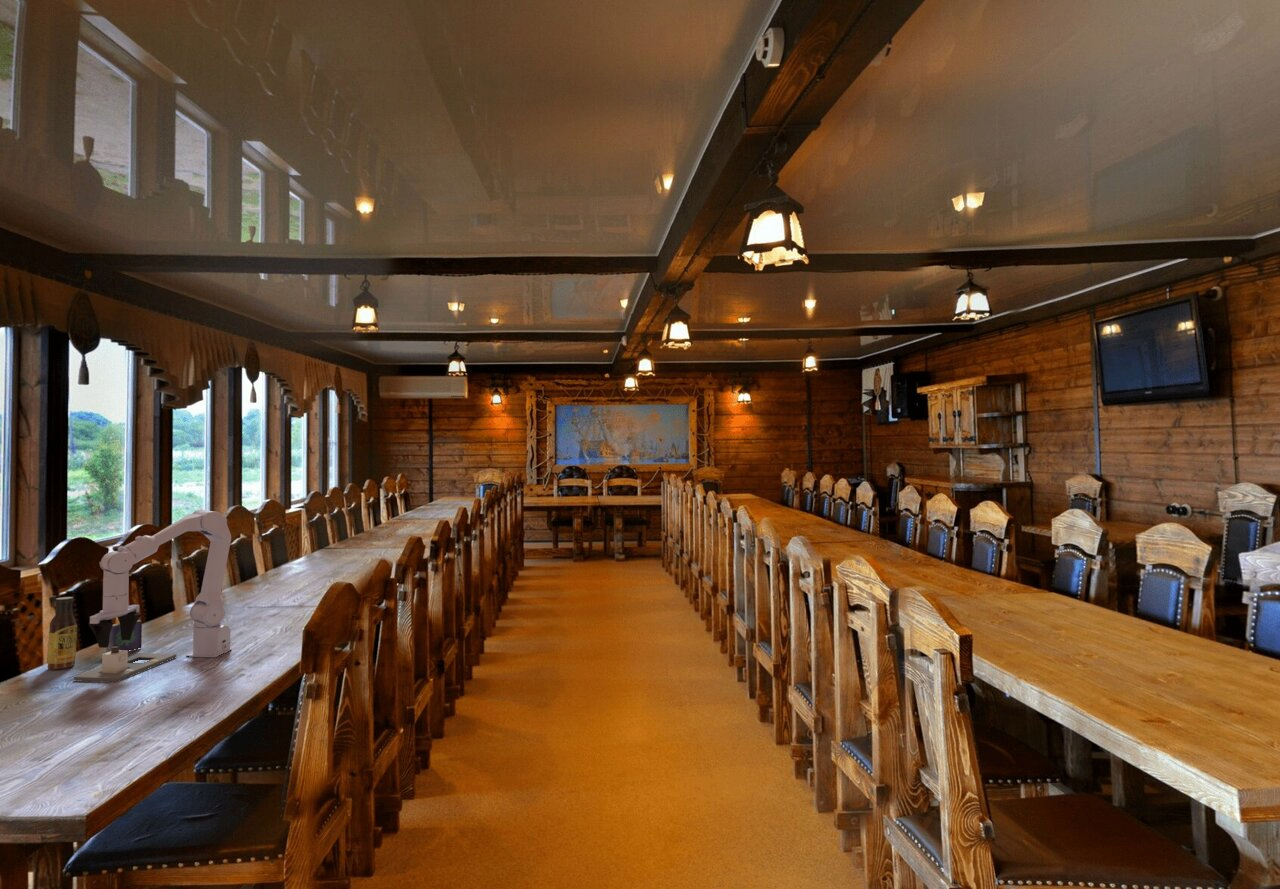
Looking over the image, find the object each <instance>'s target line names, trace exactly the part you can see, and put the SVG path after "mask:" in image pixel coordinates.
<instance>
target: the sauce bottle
mask: <svg viewBox="0 0 1280 889" xmlns="http://www.w3.org/2000/svg"><path fill="white" fill-rule="evenodd" d="M74 601H75V600H74V597H73V596H63V597H58V598H55V601H54V603H55V614H54V616H53V618H52V619H51V621H50V623H49V631H48V644H47V645H48V646H47V669H48V670H50V671H55V670H65V669H69V668H72V667H74V666H75V664H76V663H75V662H76V656H77V638H78V637H77V634H78V624H77V622H76V619H75V616H74V610H73V607H74V606H73V605H74ZM73 665H74V666H73Z"/></svg>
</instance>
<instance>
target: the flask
mask: <svg viewBox="0 0 1280 889" xmlns="http://www.w3.org/2000/svg"><path fill="white" fill-rule="evenodd" d="M142 631H143V621H142V620H140V619H138V621H137V623H136V625H135V627H134V629H133V632H132V636H131V639H130V640H122V639H121V627H120V623H119V622H118V623H114V624H113V626H112V628H111V631H110V636H109V645H108V647H107V648H105V651H106V652H105V653H107V652H110V651H111V647H116V646H119V650H128V652H129V650H134V649H138V648H141V649H142V640H143V639H142V637H143V636H142V635H143V632H142ZM134 651H135V650H134Z"/></svg>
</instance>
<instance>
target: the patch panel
mask: <svg viewBox="0 0 1280 889" xmlns="http://www.w3.org/2000/svg"><path fill="white" fill-rule="evenodd" d="M175 657H176V658H177V654H176V653H146V652H145V653H143V652H138V653H135V654H133V655H130V656H128V661H127V669H126V670H123V671H121V672H118V673H102V666H99V667H97V668H95V669H92V670H89V671H87V672H84V673H81V674H78V675H75V676H73V681H74V680H82V681H81V682H84V681H109V682H108V683H118V682H120V681H119V680H121V681H123V680H125V679H124V678H126V677H128V678H130V677H129V676H131V675H133V674H135V675H137V674H136V673H138V672H140V673H142V672H141V671H143V670H145V671H147V670H146V669H148V668H150V667H153V666H155V665H158V664H160V663H162V662H165V661H167V660H170V659H172V658H175ZM176 658H175V659H176ZM138 660H149V661H147V662H144V663H133V662H135V661H138ZM170 661H171V660H170ZM165 663H166V662H165ZM160 665H161V664H160ZM158 666H159V665H158ZM155 667H156V666H155ZM153 668H154V667H153ZM150 669H151V668H150ZM148 670H149V669H148ZM143 672H144V671H143ZM138 674H139V673H138ZM133 676H134V675H133ZM131 677H132V676H131ZM122 679H123V680H122ZM126 679H127V678H126ZM117 681H118V682H117Z"/></svg>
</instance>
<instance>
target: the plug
mask: <svg viewBox="0 0 1280 889" xmlns="http://www.w3.org/2000/svg"><path fill="white" fill-rule="evenodd" d="M128 652H129V651H128V650H119V646H116V647H111V651H110V652H107V653H106V652H105V653H102V654H101V667H102V673H118V672H121V671H123V670H126V669H127V661H128V657H129V656H128Z"/></svg>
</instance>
